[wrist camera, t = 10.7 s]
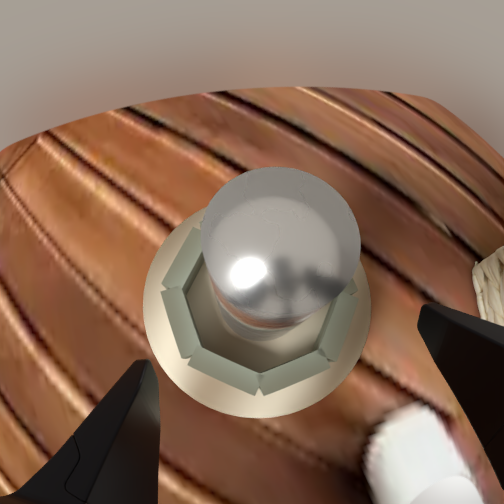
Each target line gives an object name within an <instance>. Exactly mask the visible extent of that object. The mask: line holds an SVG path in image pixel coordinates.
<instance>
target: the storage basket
mask: <svg viewBox="0 0 504 504" xmlns="http://www.w3.org/2000/svg"><path fill="white" fill-rule="evenodd" d="M477 264H478V262H477V261H475V266H474V268H473V269H472V274H473V277H472V279H473V284H474V288H475V292H476V294H477V305H478V309H479V312H480V316H481V319H484V320H487V321H490V322H493V323H495V324H498V325H501V326H504V246H502V247H500V248H498V249H497V250H496V252H494V253H493V254H491V255H490V256H489V257H487V258H485V259H484V260H482V261H481V263H479V264H478V265H477Z"/></svg>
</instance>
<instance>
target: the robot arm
mask: <svg viewBox="0 0 504 504" xmlns="http://www.w3.org/2000/svg"><path fill="white" fill-rule="evenodd" d="M417 327H418V331H419V333H420V335H421V337H422V338H423V340H424V342H425V344H426V346H427V348H428V350H429V352H430V354H431V356H432V358H433V360H434V362H435V364H436V365H437V367H438V369H439V370H440V372H441V374H442V375H443V377H444V378H445V380H446V382H447V383H448V385H449V387H450V388H451V390H452V392H453V393H454V395H455V397H456V399H457V400H458V402H459V404H460V405H461V407H462V409H463V411H464V413H465V414H466V416H467V418H468V420H469V422H470V423H471V425H472V427H473V429H474V431H475V433H476V435H477V437H478V439H479V440H480V442H481V444H482V446H483V448H484V451H485V453H486V455H487V457H488V459H489V461H490V463H491V465H492V467H493V469H494V472H495V474H496V476H497V478H498V480H499V483H500V485H501V487H502V489H503V490H504V326H501V325H498V324H495V323H493V322H490V321H487V320H484V319H481V318H478V317H475V316H472V315H469V314H466V313H463V312H460V311H457V310H454V309H451V308H448V307H446V306H443V305H440V304H437V303H434V302H430V303H427V304H424V305H423V306H422V307H421V311H420V315H419V319H418V323H417ZM159 446H160V408H159V384H158V379H157V376H156V373H155V371H154V369H153V366H152V364H151V362H150V360H149V359H138V360H136V361H134V362H133V364H132V365H131V366H130V367H129V368H128V369H127V371H126V372H125V373H124V374H123V375H122V376H121V378H120V379H119V380H118V381H117V382H116V383H115V385H114V386H113V387H112V388H111V389H110V390H109V392H108V393H107V394H106V395H105V396H104V397H103V399H102V400H101V401H100V402H99V403H98V405H97V406H96V407H95V408H94V409H93V410H92V412H91V413H90V414H89V415H88V416H87V418H86V419H85V420H84V421H83V422H82V424H81V425H80V426H79V427H78V428H77V429H76V431H75V432H74V433H73V435H71V437H70V438H69V439H68V440H67V441H66V443H65V444H64V445H63V446H62V447H61V448H60V449H59V450H58V452H57V453H56V454H55V455H54V456H53V457H52V458H51V459H50V460H49V461H48V462H47V463H46V464H45V465H44V466H43V467H42V468H41V469H40V470H39V471H38V472H37V473H36V474H35V475H34V476H33V477H32V478H31V479H30V480H28V481H27V482H26V483H25V484H24V485H23V486H22V487H21V488H20V489H19V490H17V491H16V492H14V493H12V494H9V495H6V496H1V497H0V504H158V468H159Z"/></svg>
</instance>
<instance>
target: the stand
mask: <svg viewBox="0 0 504 504" xmlns="http://www.w3.org/2000/svg"><path fill="white" fill-rule="evenodd" d="M207 207H208V206H207ZM207 207H205V208H203V209H201V210H200V211H198V212H196V213H194V214H193V215H191V216H190V217H189V218H187V219H186V220H184V221H183V222H182V223H181V224H180V225H179V226H178V227H176V228H175V229H174V230H173V232H172V233H171V234H170V235H169V236H168V237H167V238H166V240H165V241H164V242H163V244H162V245H161V247H160V248H159V250H158V251H157V253H156V255H155V258H154V260H153V262H152V264H151V266H150V269H149V272H148V275H147V278H146V283H145V288H144V297H143V314H144V324H145V328H146V333H147V337H148V340H149V342H150V345H151V348H152V350H153V352H154V354H155V356H156V358H157V360H158V362H159V363H160V365H161V367H162V368H163V369H164V371H165V372H166V373H167V375H168V376H169V377H170V378H171V379H172V380H173V382H174V383H175V384H176V385H177V386H178V387H179V388H180V389H182V390H183V391H184V392H185V393H187V394H188V395H189V396H191V397H192V398H193V399H195V400H197V401H198V402H200V403H202V404H204V405H206V406H207V407H209V408H212V409H215V410H217V411H220V412H223V413H226V414H230V415H234V416H239V417H248V418H269V417H277V416H282V415H287V414H291V413H294V412H296V411H299V410H302V409H305V408H307V407H309V406H311V405H312V404H314V403H316V402H318V401H320V400H321V399H322V398H324V397H325V396H327V395H328V394H329V393H331V392H332V391H333V390H334V389H335V388H336V387H337V386H338V385H339V384H340V383H342V382H343V380H344V379H345V378H346V377H347V375H348V374H349V373H350V372H351V370H352V369H353V367H354V366H355V364H356V362H357V360H358V359H359V357H360V355H361V352H362V350H363V348H364V345H365V343H366V339H367V335H368V332H369V327H370V319H371V297H370V290H369V284H368V281H367V277H366V273H365V271H364V268H363V266H362V263H361V261H360V259H359V262H358V266H357V268H356V271H355V273H354V275H353V277H352V279H351V280H350V282H349V284H348V285H347V286H346V287H345V289H344V290H343V291H342V292H341V293H340V294H339V295H338V296H337V297H336V298H334V299H333V300H332V301H330V302H329V303H328V304H327V305H325V306H324V307H323V308H321V309H320V310H319V311H317V312H316V313H315V314H313V315H312V316H310V317H309V318H308V319H306V320H305V321H304V322H302V323H301V324H299V325H298V326H297V327H295V328H294V329H292V330H291V331H290V332H288V333H287V334H285V335H284V336H282V337H280V338H278V339H275V340H271V341H262V342H260V341H252V340H248V339H246V338H243V337H241V336H240V335H238V334H237V333H235V332H234V331H233V330H232V329H231V328H230V327H229V326H228V325H227V324H226V322H225V321H224V319H223V317H222V314H221V312H220V309H219V306H218V302H217V299H216V296H215V293H214V290H213V286H212V283H211V280H210V276H209V273H208V270H207V266H206V263H205V260H204V256H203V252H202V248H201V225H202V220H203V217H204V214H205V211H206V209H207Z"/></svg>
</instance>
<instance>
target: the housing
mask: <svg viewBox="0 0 504 504" xmlns="http://www.w3.org/2000/svg"><path fill="white" fill-rule="evenodd" d="M201 248H202V252H203V256H204V260H205V263H206V266H207V270H208V273H209V276H210V280H211V283H212V286H213V290H214V293H215V296H216V299H217V302H218V306H219V309H220V312H221V314H222V317H223V319H224V321H225V322H226V324H227V325H228V326H229V327H230V328H231V329H232V330H233V331H234V332H235V333H237V334H238V335H240V336H241V337H243V338H246V339H248V340H252V341H260V342H262V341H271V340H275V339H278V338H280V337H282V336H284V335H285V334H287V333H288V332H290V331H291V330H292V329H294V328H295V327H297V326H298V325H299V324H301V323H302V322H304V321H305V320H306V319H308V318H309V317H310V316H312V315H313V314H315V313H316V312H317V311H319V310H320V309H321V308H323V307H324V306H325V305H327V304H328V303H329V302H330V301H332V300H333V299H334V298H336V297H337V296H338V295H339V294H340V293H341V292H342V291H343V290H344V289H345V287H346V286H347V285H348V284H349V282H350V280H351V279H352V277H353V275H354V273H355V271H356V268H357V266H358V262H359V258H360V249H361V243H360V233H359V228H358V225H357V222H356V219H355V217H354V214H353V212H352V210H351V209H350V207H349V206H348V204H347V202H346V201H345V200H344V199H343V197H342V196H341V195H340V194H339V193H338V192H337V191H336V190H335V189H334V188H333V187H331V186H330V185H329V184H327V183H326V182H324V181H323V180H321V179H320V178H318V177H316V176H314V175H312V174H309V173H307V172H304V171H301V170H297V169H293V168H286V167H265V168H259V169H255V170H251V171H248V172H245V173H243V174H241V175H239V176H237V177H235V178H234V179H232V180H230V181H229V182H228V183H226V184H225V185H224V186H223V187H222V188H221V189H220V190H219V191H218V192H217V193H216V194H215V196H214V197H213V198H212V200H211V201H210V203H209V205H208V207H207V209H206V211H205V214H204V217H203V220H202V225H201Z"/></svg>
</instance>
